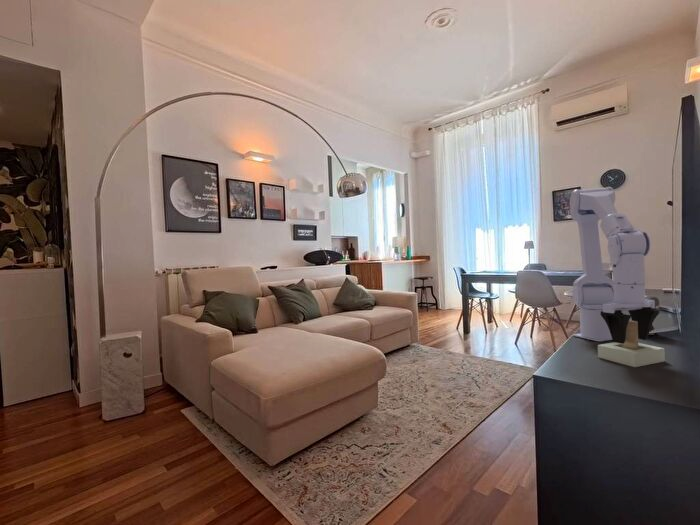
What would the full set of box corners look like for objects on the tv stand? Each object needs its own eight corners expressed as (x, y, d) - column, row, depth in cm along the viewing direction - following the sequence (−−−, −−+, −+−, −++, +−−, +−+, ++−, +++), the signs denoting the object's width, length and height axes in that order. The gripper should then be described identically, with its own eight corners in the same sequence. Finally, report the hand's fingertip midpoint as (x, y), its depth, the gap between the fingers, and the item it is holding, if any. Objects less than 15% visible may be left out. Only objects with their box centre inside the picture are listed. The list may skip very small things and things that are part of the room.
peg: (627, 356, 81) (626, 319, 81) (641, 360, 78) (640, 321, 78) (619, 358, 80) (618, 320, 80) (632, 361, 77) (632, 323, 77)
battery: (655, 337, 97) (654, 298, 97) (638, 335, 100) (637, 297, 100) (661, 333, 101) (660, 295, 101) (645, 331, 104) (644, 295, 104)
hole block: (626, 352, 85) (626, 340, 84) (664, 361, 77) (664, 348, 77) (598, 357, 82) (597, 345, 81) (634, 367, 74) (634, 353, 74)
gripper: (625, 286, 73) (627, 348, 73) (669, 282, 77) (670, 341, 78) (593, 284, 80) (594, 341, 80) (635, 280, 84) (636, 334, 84)
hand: (630, 340), depth 79 cm, fingers open, 7 cm apart
